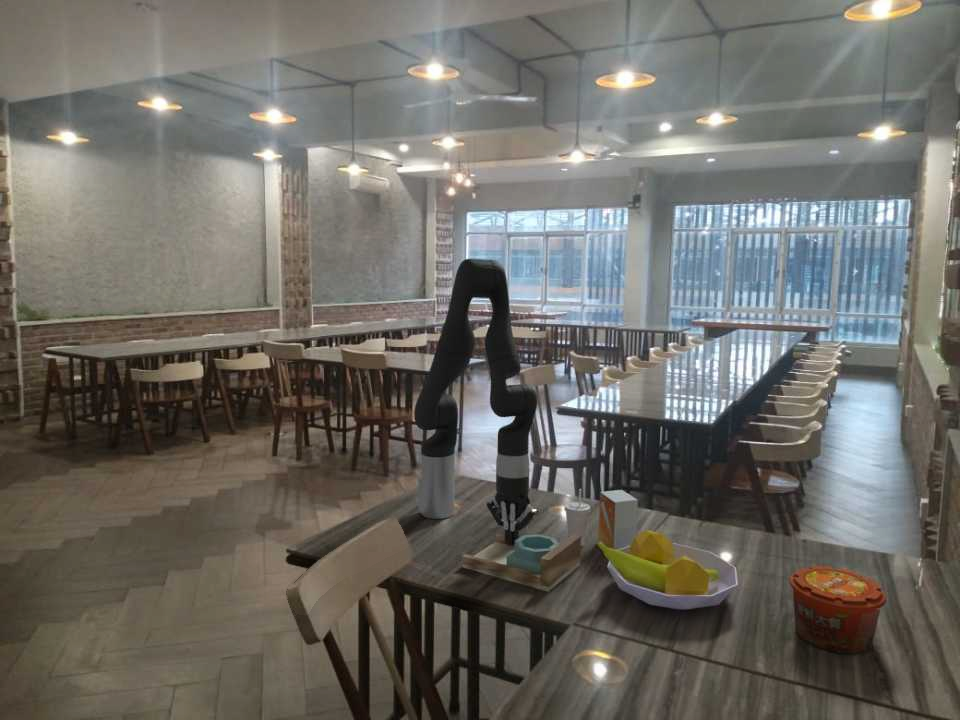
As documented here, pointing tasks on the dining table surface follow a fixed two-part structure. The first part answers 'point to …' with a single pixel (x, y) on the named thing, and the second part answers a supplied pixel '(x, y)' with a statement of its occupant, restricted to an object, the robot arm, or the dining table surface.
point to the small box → (617, 519)
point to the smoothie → (577, 518)
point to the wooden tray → (551, 570)
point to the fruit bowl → (670, 572)
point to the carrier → (530, 552)
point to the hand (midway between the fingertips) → (511, 544)
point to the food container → (836, 608)
